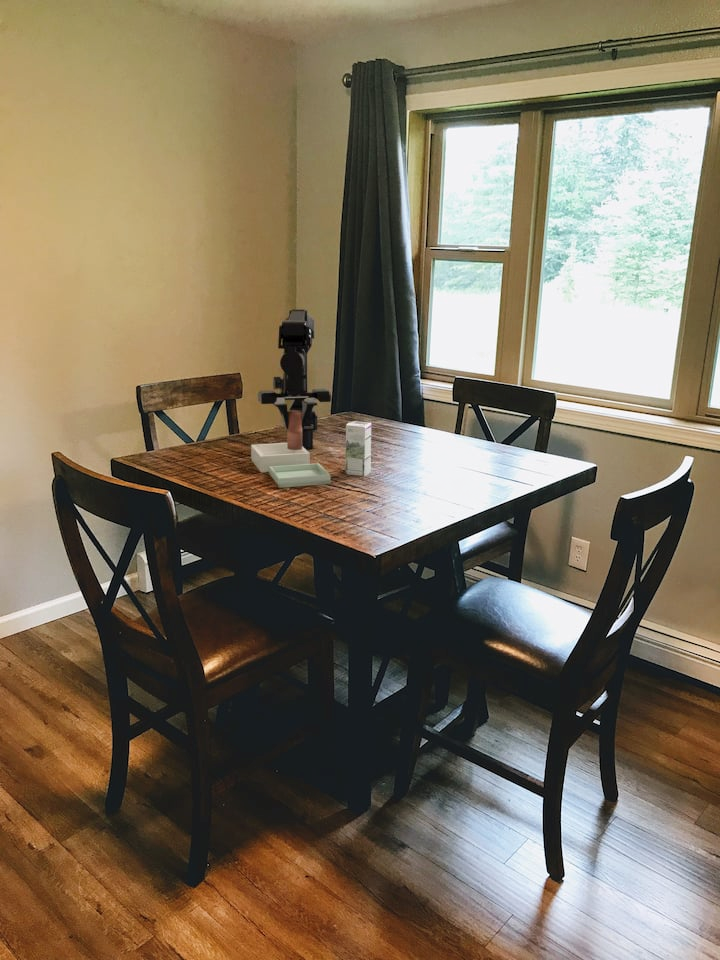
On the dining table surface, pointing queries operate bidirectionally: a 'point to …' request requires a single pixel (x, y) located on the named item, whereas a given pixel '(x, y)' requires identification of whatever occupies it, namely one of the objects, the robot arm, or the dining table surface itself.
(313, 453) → the dining table surface
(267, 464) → the square storage bin
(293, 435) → the dowel pin
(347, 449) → the syrup box
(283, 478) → the tray
